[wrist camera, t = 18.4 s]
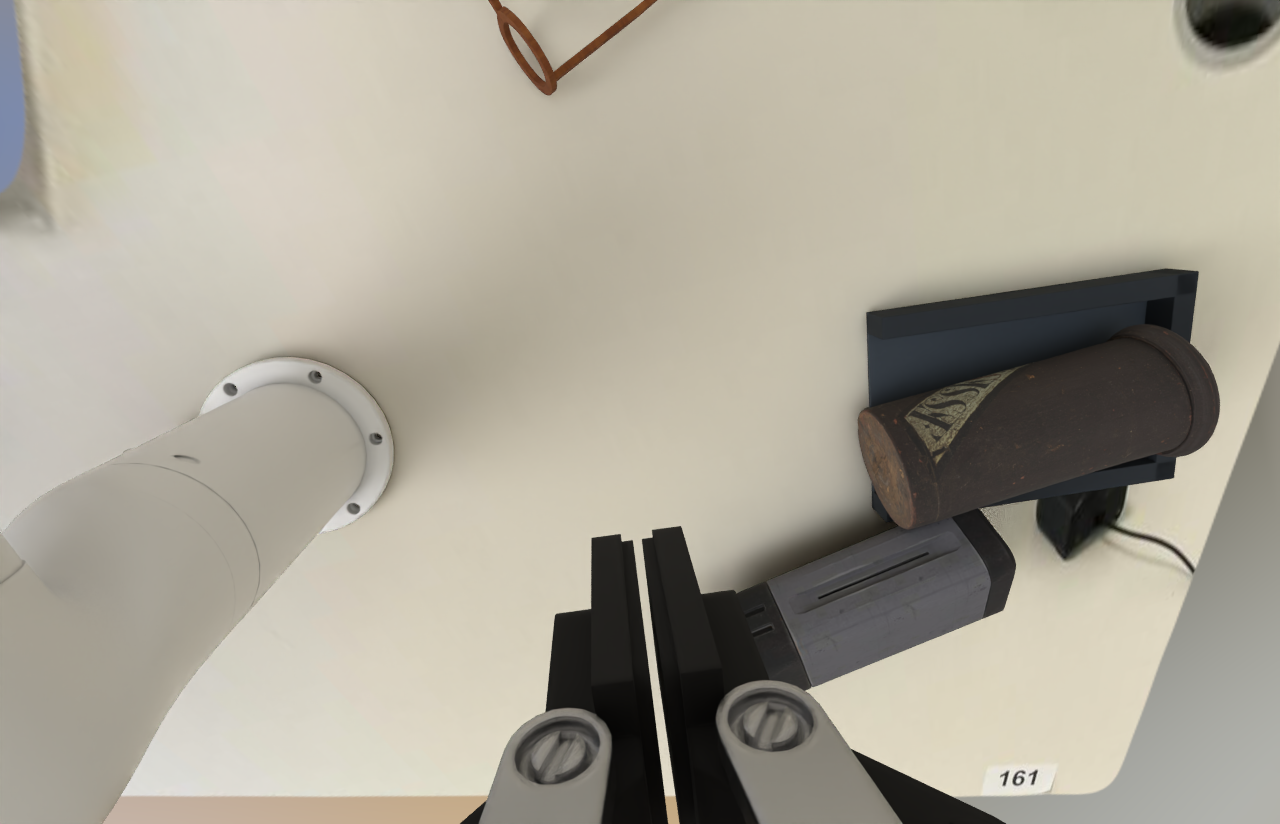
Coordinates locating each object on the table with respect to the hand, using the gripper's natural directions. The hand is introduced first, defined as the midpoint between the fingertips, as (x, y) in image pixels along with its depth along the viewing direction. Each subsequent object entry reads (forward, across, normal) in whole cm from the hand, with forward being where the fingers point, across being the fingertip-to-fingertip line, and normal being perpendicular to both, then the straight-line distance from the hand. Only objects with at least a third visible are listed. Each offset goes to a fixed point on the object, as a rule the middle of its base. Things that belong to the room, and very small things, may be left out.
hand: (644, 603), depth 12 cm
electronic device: (+29, -6, +25) cm, 38 cm away
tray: (+33, -28, +8) cm, 44 cm away
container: (+28, -17, +11) cm, 35 cm away
